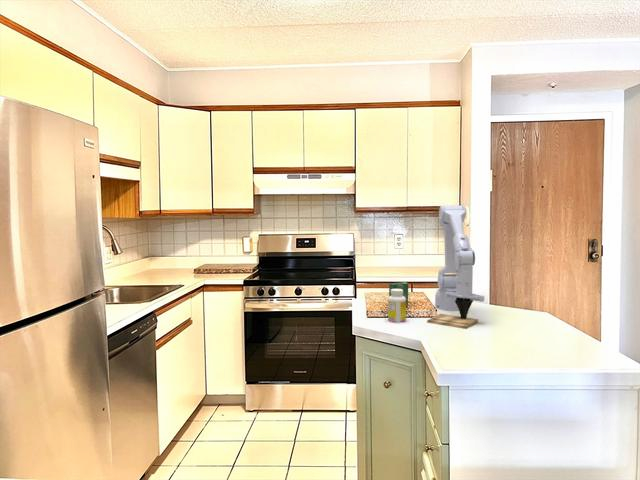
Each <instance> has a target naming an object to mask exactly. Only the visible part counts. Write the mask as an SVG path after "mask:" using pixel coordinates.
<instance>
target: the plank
mask: <svg viewBox="0 0 640 480" xmlns="http://www.w3.org/2000/svg"><path fill="white" fill-rule="evenodd" d="M430 319H434V320H441V321H447V322H453V323H459V324H465V325H469V328H471V327H472V326H474V325H475V324H477V323H479V318H471V317H467V318H465V319H462V318H461V316H460V315H459V316H458V315H453V314H445V313H439V314H437V315H434V316H432V317H431V318H430Z"/></svg>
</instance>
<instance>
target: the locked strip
mask: <svg viewBox="0 0 640 480" xmlns="http://www.w3.org/2000/svg"><path fill="white" fill-rule="evenodd" d="M426 323H427V324H428V323H429V324H434V325H439V326H440V325H441V326H447V327H451V328H452V327H453V328H458V329H464V330H467V329H469V328H470V327H469V325H465V324H459V323H453V322H447V321H441V320H434V319H431V318H428V319H427V320H426Z"/></svg>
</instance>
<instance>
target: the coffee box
mask: <svg viewBox="0 0 640 480" xmlns="http://www.w3.org/2000/svg"><path fill="white" fill-rule="evenodd" d="M388 284H389V285H388V287H389V288H388V298H389V297H390V296H391V289H402V290H403V296H404V297H405V298H406V308H408V309H409V282H393V283H391V282H390V283H388Z"/></svg>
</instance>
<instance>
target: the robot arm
mask: <svg viewBox="0 0 640 480" xmlns="http://www.w3.org/2000/svg"><path fill="white" fill-rule="evenodd" d="M466 217H467V209H466V206H465V205H463V204H461V205H440V207H439V209H438V223H439V226H441V227H443V231H444V232H443V235H444V236H443V237H444V267H441V269H439V271H438V273H437V274H438V276H437V287H438V288H439V289H437V290H436V291H435V297H434V298H435V299H434V300H435V302H434V308H435V309H436V310H437V309H438V310H443V311H448V312H452V311H453V312H455V311H459V316H460V317H461V318H462V319H465V318H468V313H469V310H470V308H471V306H472V304H473V302H474V301H476V302H480V303H483V302H485V296H484V295H480V294H476V293H475V294H474V293H473V280H474V278H473V274H474V271H473V268H474V267H473V266H475V263H476V254H475V251H474V249H473V247H471V245H470V241H469V237H468V235H467V234H465V229H464V224H463V223H464V222H465V219H466Z"/></svg>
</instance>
